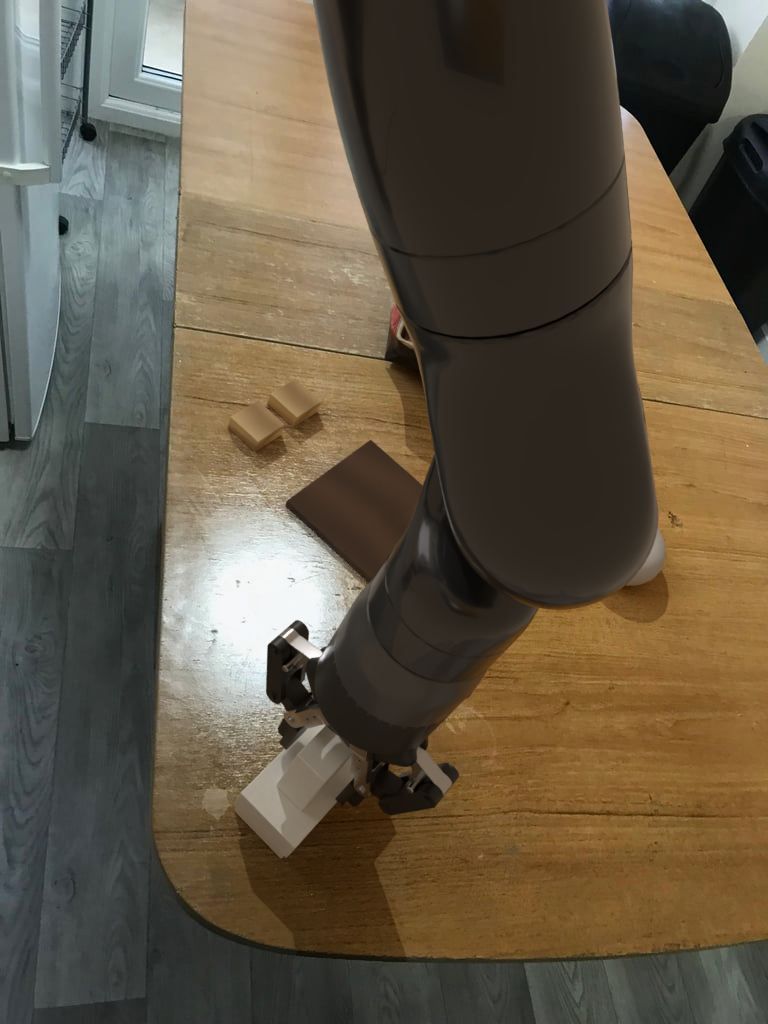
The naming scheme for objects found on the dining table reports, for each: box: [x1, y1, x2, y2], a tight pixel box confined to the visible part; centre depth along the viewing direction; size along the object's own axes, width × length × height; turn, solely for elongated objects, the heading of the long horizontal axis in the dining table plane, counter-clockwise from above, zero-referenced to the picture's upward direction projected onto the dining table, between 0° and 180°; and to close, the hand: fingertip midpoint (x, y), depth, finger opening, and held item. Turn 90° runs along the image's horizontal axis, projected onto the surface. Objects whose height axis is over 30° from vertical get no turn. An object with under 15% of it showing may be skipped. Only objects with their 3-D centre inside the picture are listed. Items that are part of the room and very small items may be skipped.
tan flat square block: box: [227, 400, 286, 453], centre depth 77 cm, size 4×4×2 cm
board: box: [284, 439, 423, 583], centre depth 76 cm, size 12×16×1 cm
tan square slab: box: [266, 378, 322, 428], centre depth 81 cm, size 4×4×2 cm
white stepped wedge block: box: [233, 724, 354, 860], centre depth 57 cm, size 5×10×10 cm, turn 141°
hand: (320, 764), depth 57 cm, fingers open, 4 cm apart
